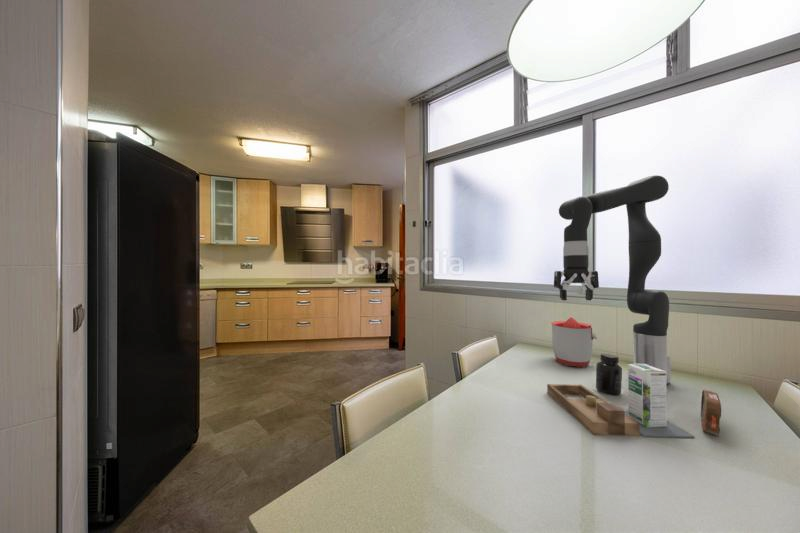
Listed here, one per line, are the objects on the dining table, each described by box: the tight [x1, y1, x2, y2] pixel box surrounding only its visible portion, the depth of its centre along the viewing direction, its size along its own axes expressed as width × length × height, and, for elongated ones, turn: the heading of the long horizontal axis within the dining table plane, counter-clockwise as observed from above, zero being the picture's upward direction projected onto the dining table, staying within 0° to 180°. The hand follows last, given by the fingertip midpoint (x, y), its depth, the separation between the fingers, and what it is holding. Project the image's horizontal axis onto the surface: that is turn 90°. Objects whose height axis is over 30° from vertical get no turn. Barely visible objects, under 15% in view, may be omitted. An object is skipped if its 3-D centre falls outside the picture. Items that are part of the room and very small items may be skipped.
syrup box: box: [627, 363, 668, 428], centre depth 73 cm, size 6×6×14 cm
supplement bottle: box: [595, 353, 623, 397], centre depth 92 cm, size 7×7×12 cm
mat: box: [624, 410, 696, 439], centre depth 73 cm, size 12×12×1 cm
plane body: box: [546, 383, 641, 436], centre depth 79 cm, size 11×23×6 cm, turn 178°
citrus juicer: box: [551, 317, 599, 368], centre depth 121 cm, size 16×17×20 cm
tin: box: [700, 389, 722, 436], centre depth 71 cm, size 15×3×8 cm, turn 134°
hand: (576, 300), depth 97 cm, fingers open, 8 cm apart
